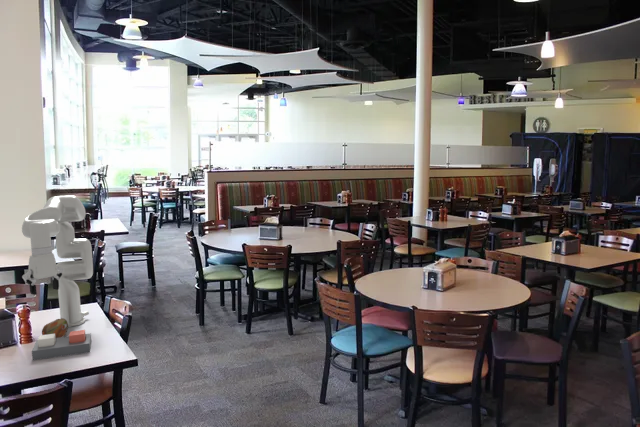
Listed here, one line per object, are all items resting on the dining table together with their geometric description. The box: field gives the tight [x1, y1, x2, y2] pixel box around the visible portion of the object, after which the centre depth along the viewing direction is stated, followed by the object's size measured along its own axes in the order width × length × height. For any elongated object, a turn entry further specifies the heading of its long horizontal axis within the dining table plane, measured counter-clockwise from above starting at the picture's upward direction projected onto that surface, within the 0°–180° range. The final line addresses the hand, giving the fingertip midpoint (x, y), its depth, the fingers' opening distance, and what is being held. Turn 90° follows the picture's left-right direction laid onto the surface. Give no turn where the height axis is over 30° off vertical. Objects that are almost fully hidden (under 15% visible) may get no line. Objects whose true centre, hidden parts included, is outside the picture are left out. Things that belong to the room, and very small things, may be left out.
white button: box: [37, 334, 56, 347], centre depth 233 cm, size 6×6×4 cm
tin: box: [41, 318, 69, 338], centre depth 252 cm, size 15×3×8 cm, turn 168°
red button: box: [68, 329, 86, 343], centre depth 237 cm, size 6×6×4 cm
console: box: [31, 333, 93, 361], centre depth 236 cm, size 22×14×4 cm, turn 110°
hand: (45, 291), depth 228 cm, fingers open, 9 cm apart
